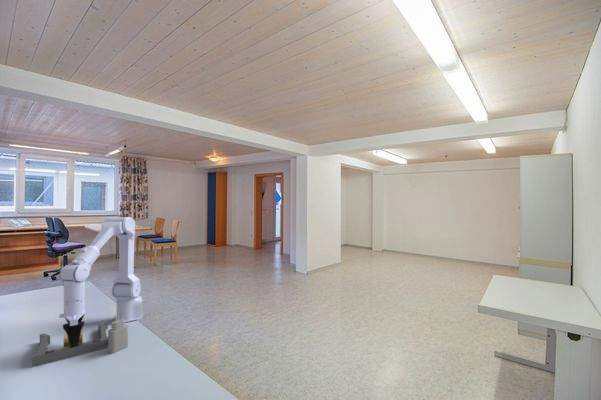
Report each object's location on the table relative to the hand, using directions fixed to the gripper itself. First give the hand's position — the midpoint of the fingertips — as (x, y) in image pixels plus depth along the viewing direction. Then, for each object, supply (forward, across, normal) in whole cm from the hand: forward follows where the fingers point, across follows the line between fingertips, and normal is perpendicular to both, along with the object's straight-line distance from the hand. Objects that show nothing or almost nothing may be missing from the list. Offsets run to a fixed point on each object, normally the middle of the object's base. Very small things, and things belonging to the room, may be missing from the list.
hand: (74, 339), depth 99 cm
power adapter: (+3, +9, +12) cm, 15 cm away
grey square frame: (+3, -3, 0) cm, 5 cm away
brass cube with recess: (+3, 0, 0) cm, 3 cm away
